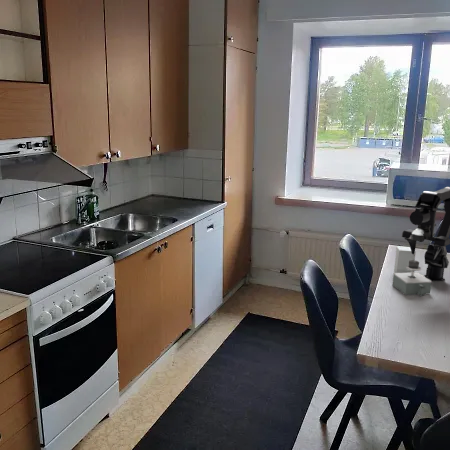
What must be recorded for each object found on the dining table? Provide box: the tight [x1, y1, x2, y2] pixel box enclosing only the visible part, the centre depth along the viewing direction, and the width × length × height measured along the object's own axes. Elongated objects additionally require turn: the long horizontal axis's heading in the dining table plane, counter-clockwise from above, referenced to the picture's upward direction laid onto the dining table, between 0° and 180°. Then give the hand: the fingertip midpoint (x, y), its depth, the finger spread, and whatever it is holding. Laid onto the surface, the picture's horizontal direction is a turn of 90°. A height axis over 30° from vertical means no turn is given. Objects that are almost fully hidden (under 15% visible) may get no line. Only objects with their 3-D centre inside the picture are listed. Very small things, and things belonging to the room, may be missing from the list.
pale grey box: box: [391, 271, 433, 297], centre depth 198 cm, size 11×14×6 cm
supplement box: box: [393, 245, 417, 274], centre depth 216 cm, size 7×7×13 cm
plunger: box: [406, 260, 422, 278], centre depth 198 cm, size 8×8×8 cm
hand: (423, 256), depth 202 cm, fingers open, 9 cm apart
